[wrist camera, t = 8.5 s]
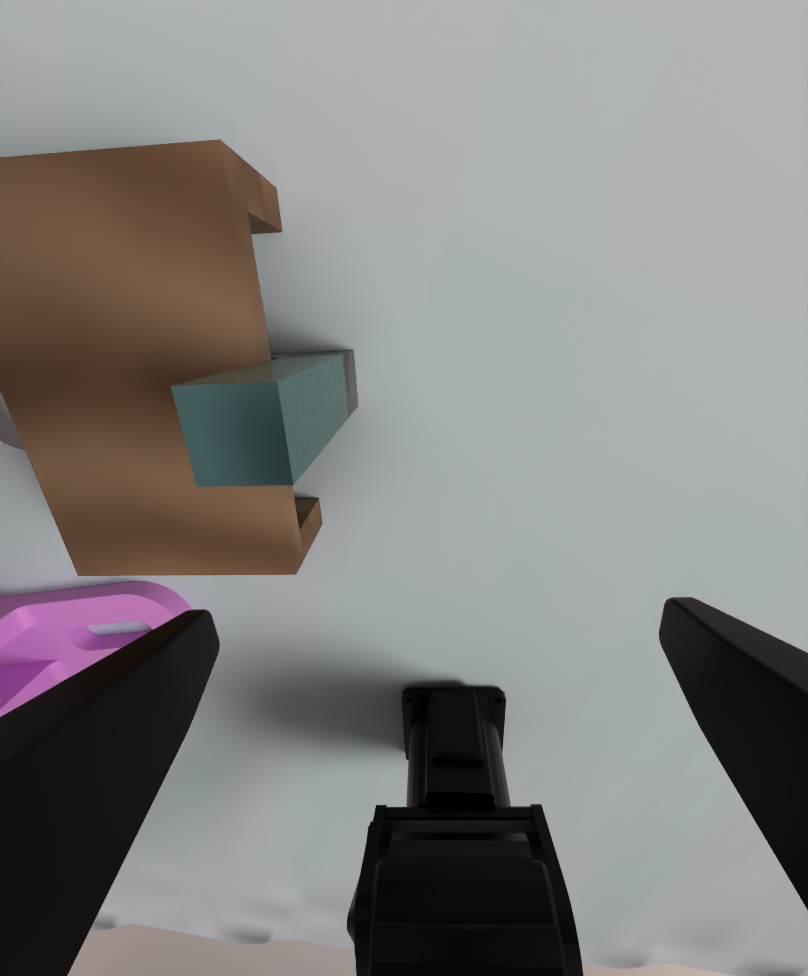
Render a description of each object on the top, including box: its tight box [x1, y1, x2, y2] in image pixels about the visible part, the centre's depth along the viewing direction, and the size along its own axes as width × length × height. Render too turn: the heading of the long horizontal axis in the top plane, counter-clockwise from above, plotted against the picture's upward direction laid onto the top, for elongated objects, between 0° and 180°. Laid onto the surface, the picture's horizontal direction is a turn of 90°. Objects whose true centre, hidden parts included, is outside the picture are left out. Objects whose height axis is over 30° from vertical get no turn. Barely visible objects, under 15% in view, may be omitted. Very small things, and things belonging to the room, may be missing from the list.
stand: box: [0, 139, 322, 576], centre depth 17 cm, size 15×10×5 cm, turn 3°
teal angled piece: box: [171, 350, 358, 487], centre depth 15 cm, size 2×14×10 cm, turn 92°
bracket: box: [0, 581, 192, 717], centre depth 22 cm, size 13×6×7 cm, turn 100°
